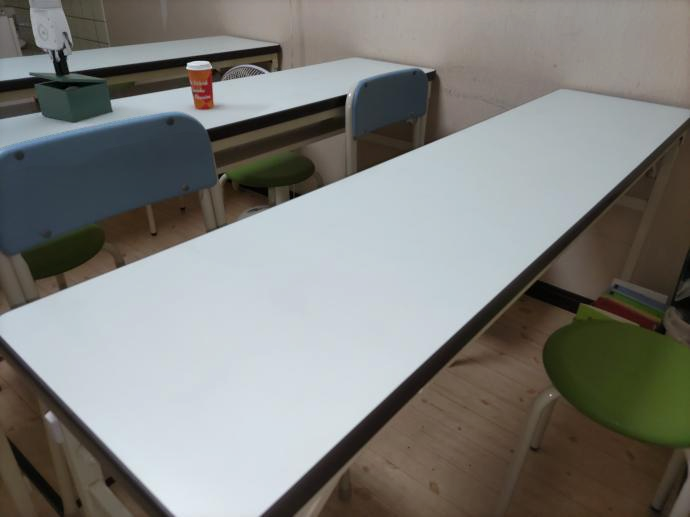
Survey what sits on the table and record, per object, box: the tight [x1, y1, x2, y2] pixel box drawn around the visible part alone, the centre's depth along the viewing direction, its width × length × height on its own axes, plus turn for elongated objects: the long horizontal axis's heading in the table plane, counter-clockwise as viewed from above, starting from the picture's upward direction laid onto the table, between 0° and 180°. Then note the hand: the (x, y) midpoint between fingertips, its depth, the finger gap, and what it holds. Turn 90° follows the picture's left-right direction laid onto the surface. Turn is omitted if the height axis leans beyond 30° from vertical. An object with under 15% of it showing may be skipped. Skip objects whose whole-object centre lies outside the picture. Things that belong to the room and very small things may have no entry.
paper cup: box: [185, 60, 215, 111], centre depth 157 cm, size 8×8×14 cm
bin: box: [33, 80, 114, 124], centre depth 150 cm, size 14×14×9 cm
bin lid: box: [28, 71, 108, 83], centre depth 146 cm, size 14×14×1 cm
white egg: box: [65, 86, 80, 90], centre depth 149 cm, size 10×7×7 cm
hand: (63, 74), depth 145 cm, fingers closed
